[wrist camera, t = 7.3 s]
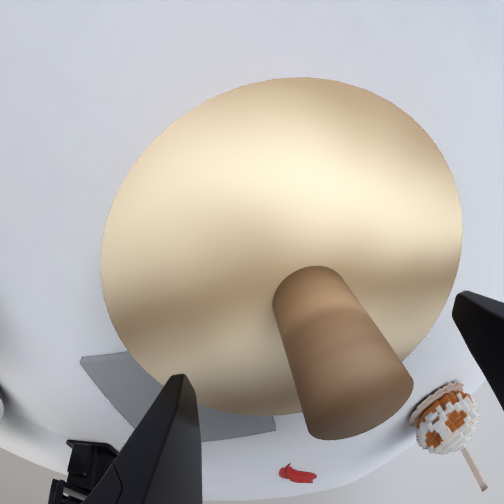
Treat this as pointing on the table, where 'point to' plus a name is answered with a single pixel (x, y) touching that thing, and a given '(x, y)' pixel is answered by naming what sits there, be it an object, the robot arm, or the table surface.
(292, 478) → the cayenne pepper
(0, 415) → the spread jar
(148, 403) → the mat
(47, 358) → the table surface
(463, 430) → the decorative ornament
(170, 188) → the lid
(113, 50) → the table surface
